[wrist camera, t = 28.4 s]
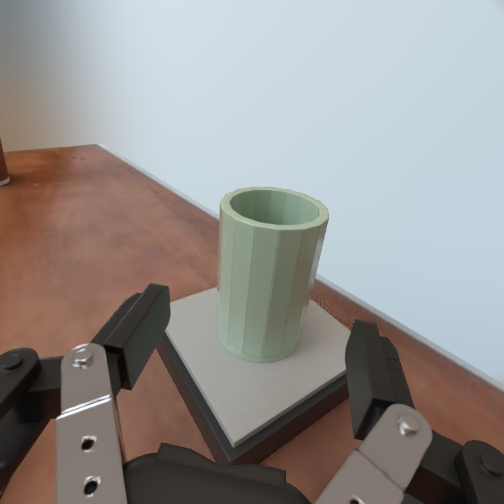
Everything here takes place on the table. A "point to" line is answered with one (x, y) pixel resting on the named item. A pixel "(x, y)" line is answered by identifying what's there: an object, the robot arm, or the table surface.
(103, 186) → the table surface
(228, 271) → the cup
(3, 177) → the coffee cup
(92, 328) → the table surface
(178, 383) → the scale
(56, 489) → the robot arm
